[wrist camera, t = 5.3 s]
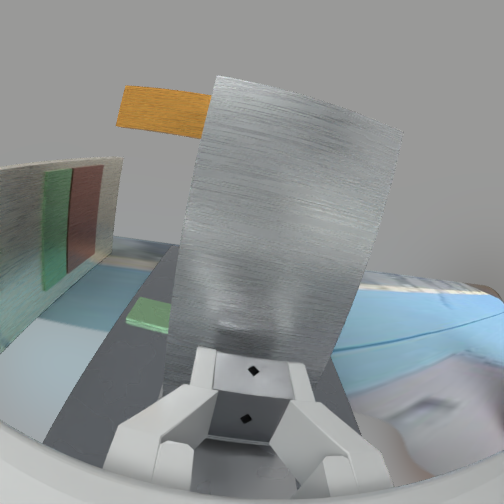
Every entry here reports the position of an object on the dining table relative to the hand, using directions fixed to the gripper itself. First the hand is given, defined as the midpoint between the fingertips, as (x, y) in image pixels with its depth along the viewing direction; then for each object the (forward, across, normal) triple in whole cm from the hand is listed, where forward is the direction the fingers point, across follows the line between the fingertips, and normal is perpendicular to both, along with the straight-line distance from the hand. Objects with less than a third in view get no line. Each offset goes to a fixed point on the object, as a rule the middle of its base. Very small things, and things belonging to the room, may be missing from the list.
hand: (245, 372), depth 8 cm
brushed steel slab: (+4, +2, +5) cm, 6 cm away
